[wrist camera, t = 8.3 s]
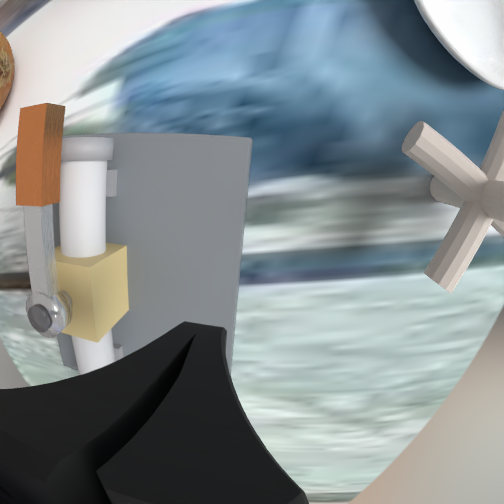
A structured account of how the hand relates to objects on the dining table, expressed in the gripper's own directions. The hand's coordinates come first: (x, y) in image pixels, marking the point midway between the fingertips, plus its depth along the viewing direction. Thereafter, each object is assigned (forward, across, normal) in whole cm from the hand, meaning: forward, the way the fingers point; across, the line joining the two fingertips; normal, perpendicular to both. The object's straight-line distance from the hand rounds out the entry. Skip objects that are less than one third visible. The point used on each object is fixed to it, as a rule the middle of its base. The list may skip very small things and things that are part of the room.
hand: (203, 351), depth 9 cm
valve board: (+10, +7, +2) cm, 13 cm away
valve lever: (+4, +9, -2) cm, 10 cm away
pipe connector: (+11, -12, -6) cm, 17 cm away
